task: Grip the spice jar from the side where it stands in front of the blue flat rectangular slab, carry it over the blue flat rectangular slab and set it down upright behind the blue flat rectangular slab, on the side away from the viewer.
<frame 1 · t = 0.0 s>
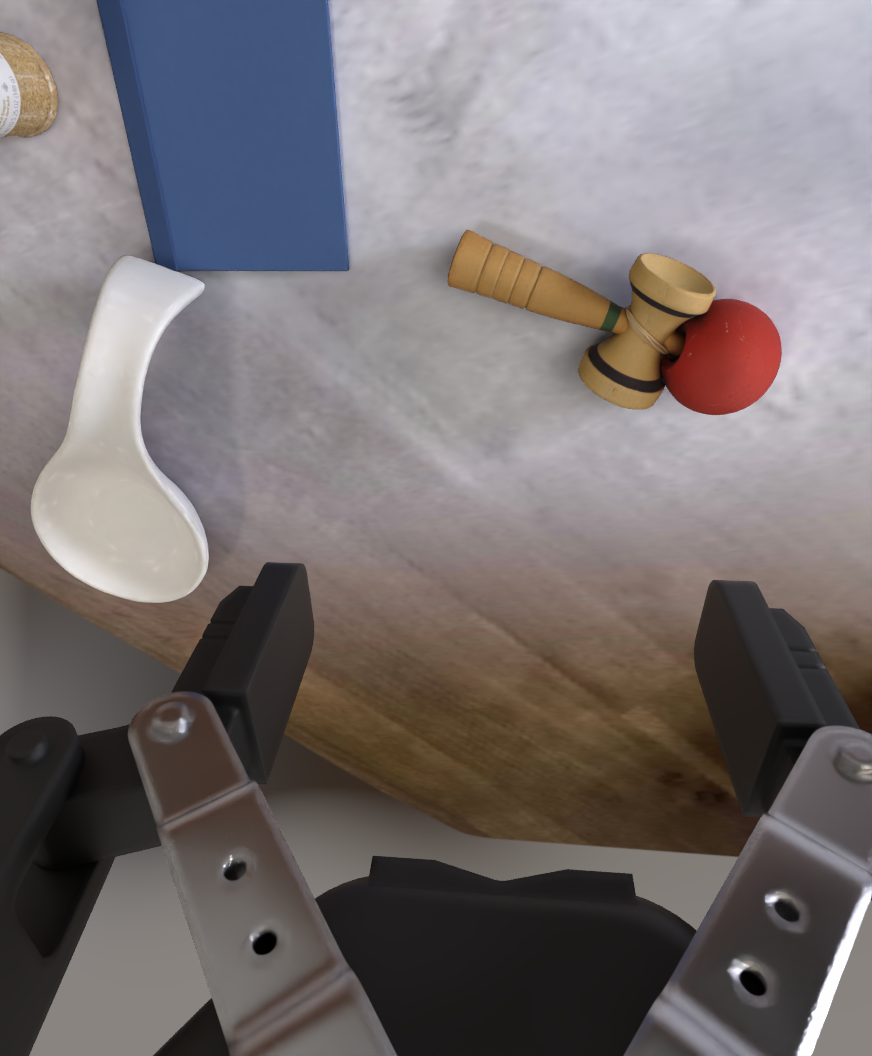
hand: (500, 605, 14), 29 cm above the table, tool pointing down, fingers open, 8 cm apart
kendama: (605, 306, 39), on the table
blue flat rectangular slab: (214, 6, 33), on the table
spice jar: (19, 85, 36), on the table
spoon rest: (151, 437, 46), on the table, touching blue flat rectangular slab
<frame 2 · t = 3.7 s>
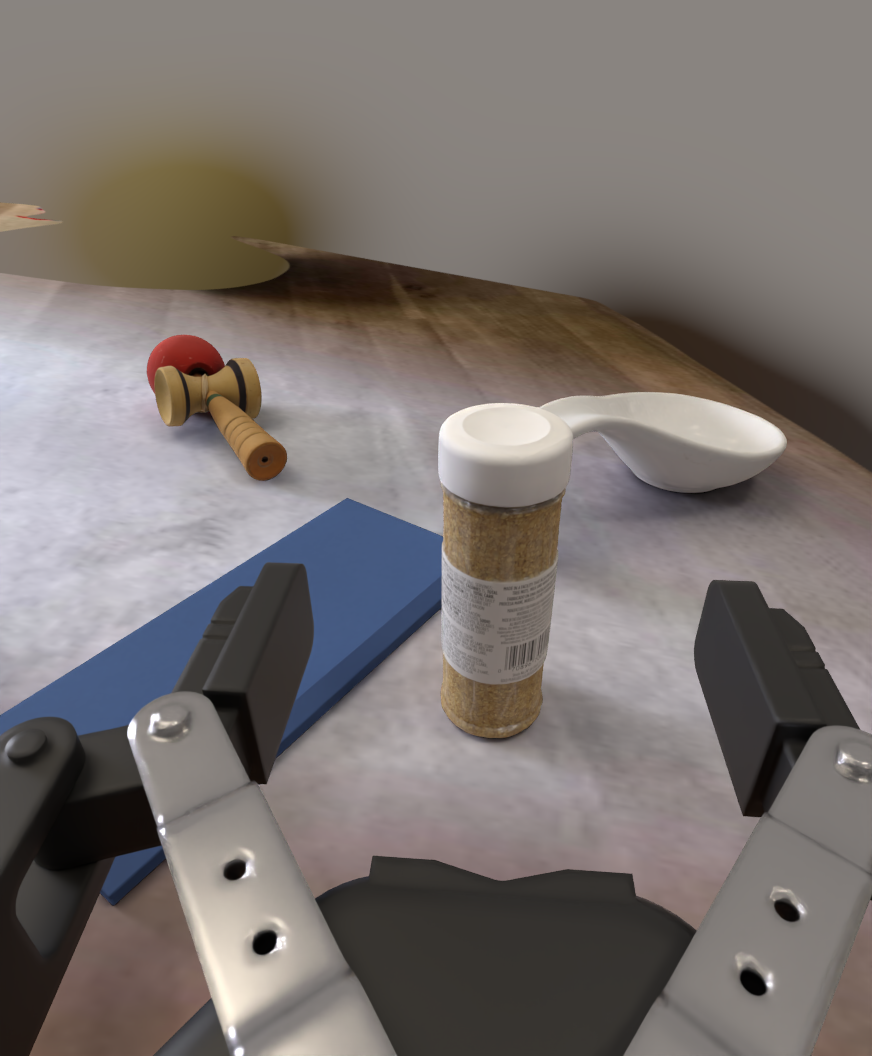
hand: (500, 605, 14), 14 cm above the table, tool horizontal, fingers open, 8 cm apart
kendama: (224, 436, 53), on the table
blue flat rectangular slab: (267, 640, 34), on the table
spice jar: (489, 705, 31), on the table
spoon rest: (621, 498, 45), on the table, touching blue flat rectangular slab
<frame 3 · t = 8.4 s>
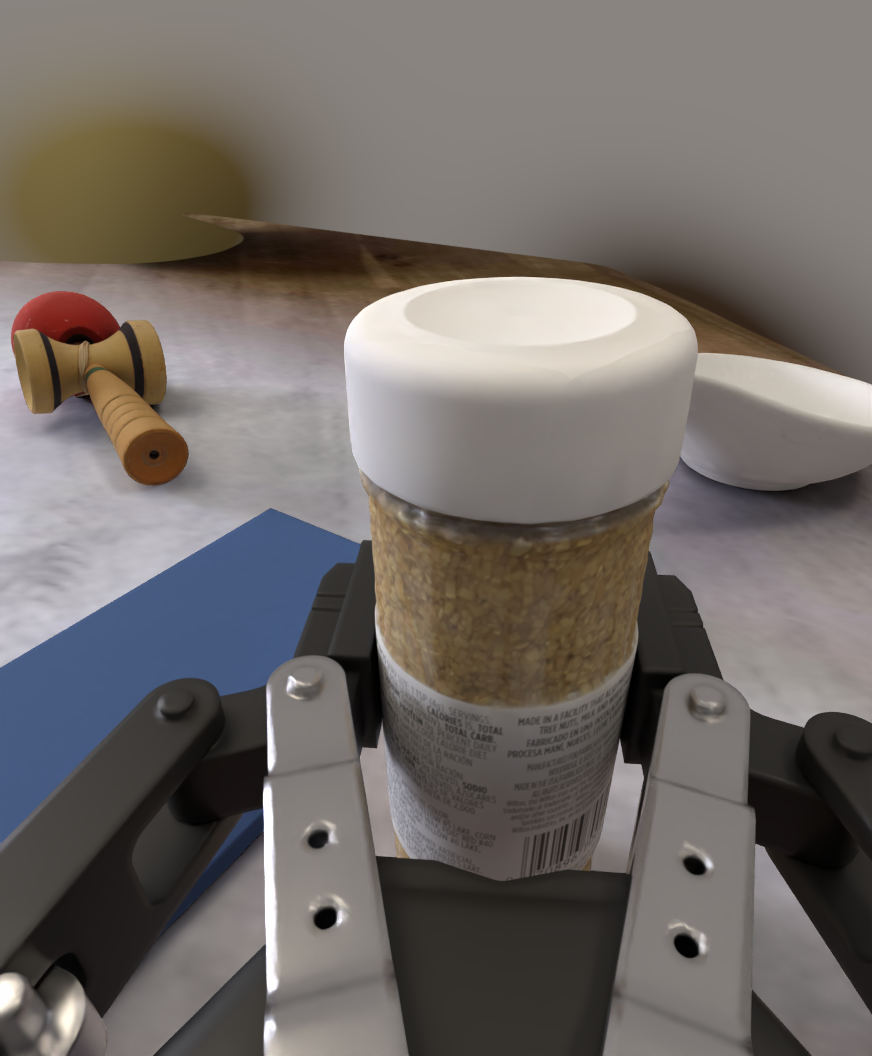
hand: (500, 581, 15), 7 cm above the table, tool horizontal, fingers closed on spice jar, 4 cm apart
kendama: (115, 427, 39), on the table
blue flat rectangular slab: (97, 760, 19), on the table
spice jar: (489, 895, 16), on the table, touching gripper
spoon rest: (674, 500, 31), on the table, touching blue flat rectangular slab
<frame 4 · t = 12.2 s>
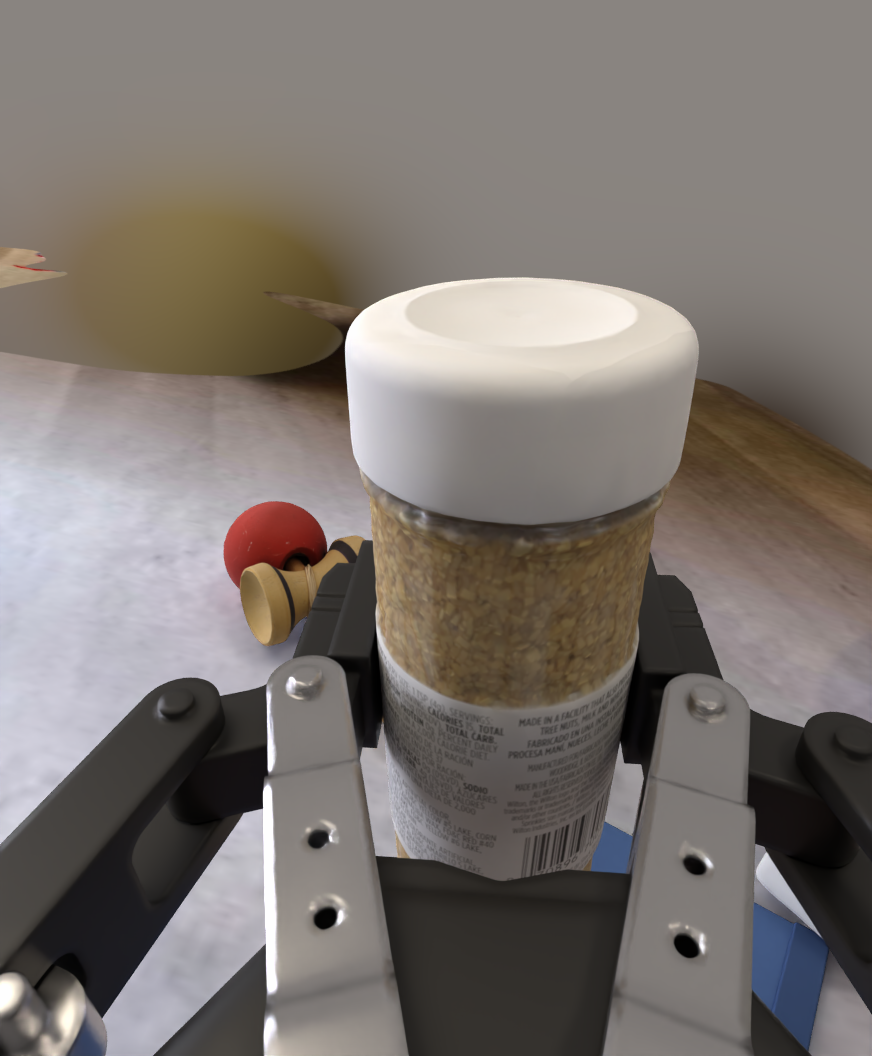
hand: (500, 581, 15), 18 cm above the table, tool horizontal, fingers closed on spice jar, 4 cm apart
kendama: (334, 647, 39), on the table
spice jar: (489, 895, 16), point 11 cm above the table, touching gripper
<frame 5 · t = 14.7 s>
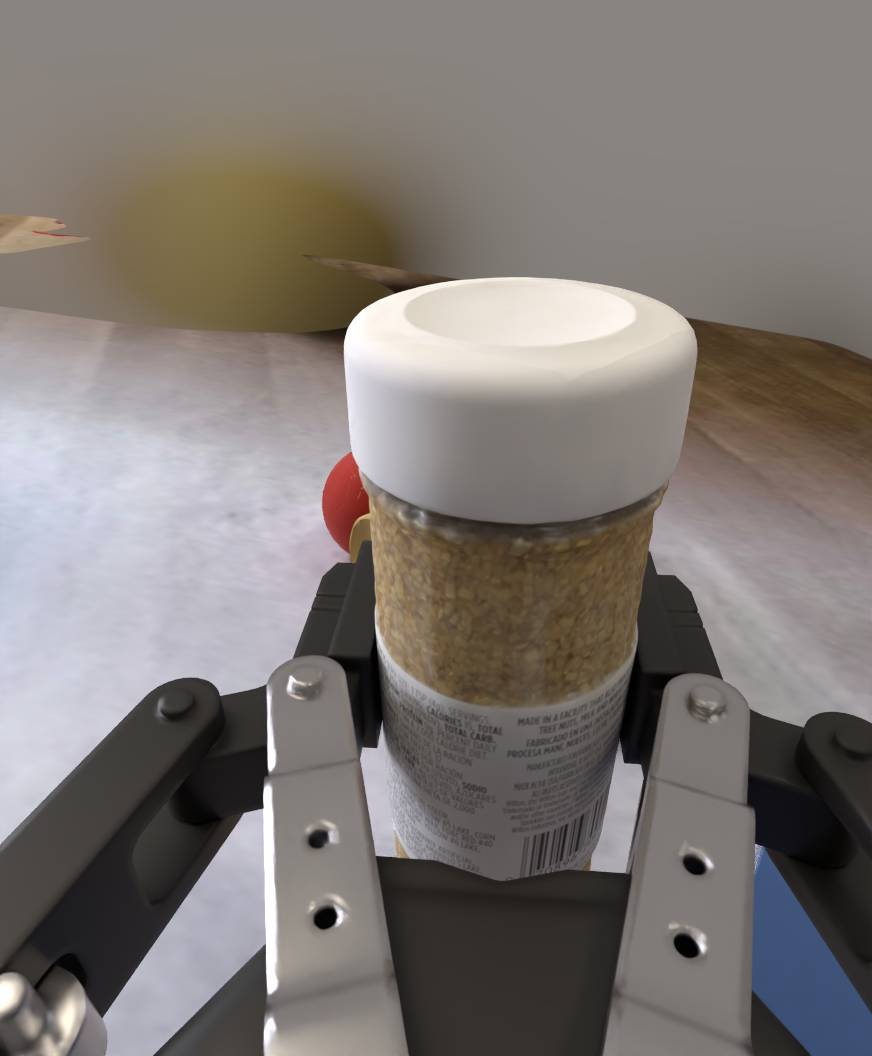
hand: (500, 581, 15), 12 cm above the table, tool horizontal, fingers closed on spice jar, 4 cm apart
kendama: (459, 615, 32), on the table
spice jar: (488, 895, 16), point 5 cm above the table, touching gripper
when the fingers open (7 cm above the table, at t = 16.5 s): spice jar stays where it is, on the table.
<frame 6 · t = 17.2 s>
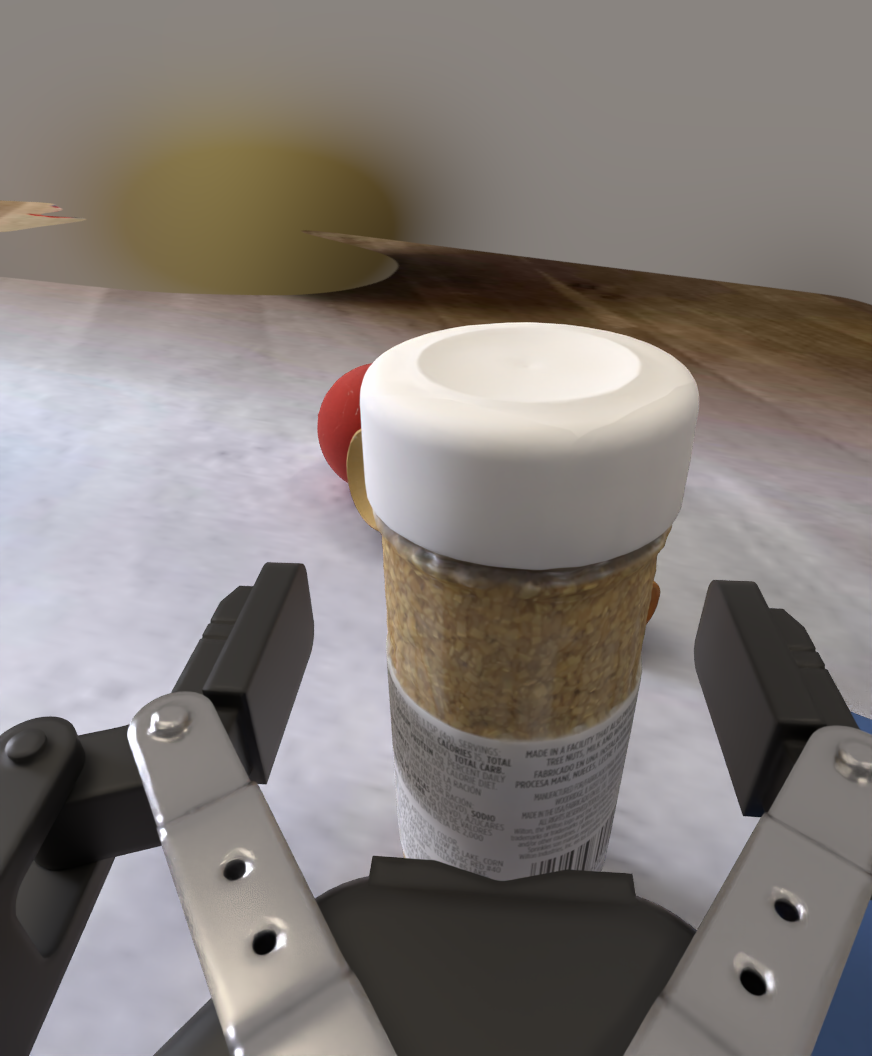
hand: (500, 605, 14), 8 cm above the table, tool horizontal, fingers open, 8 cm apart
kendama: (466, 542, 30), on the table
spice jar: (495, 915, 17), on the table
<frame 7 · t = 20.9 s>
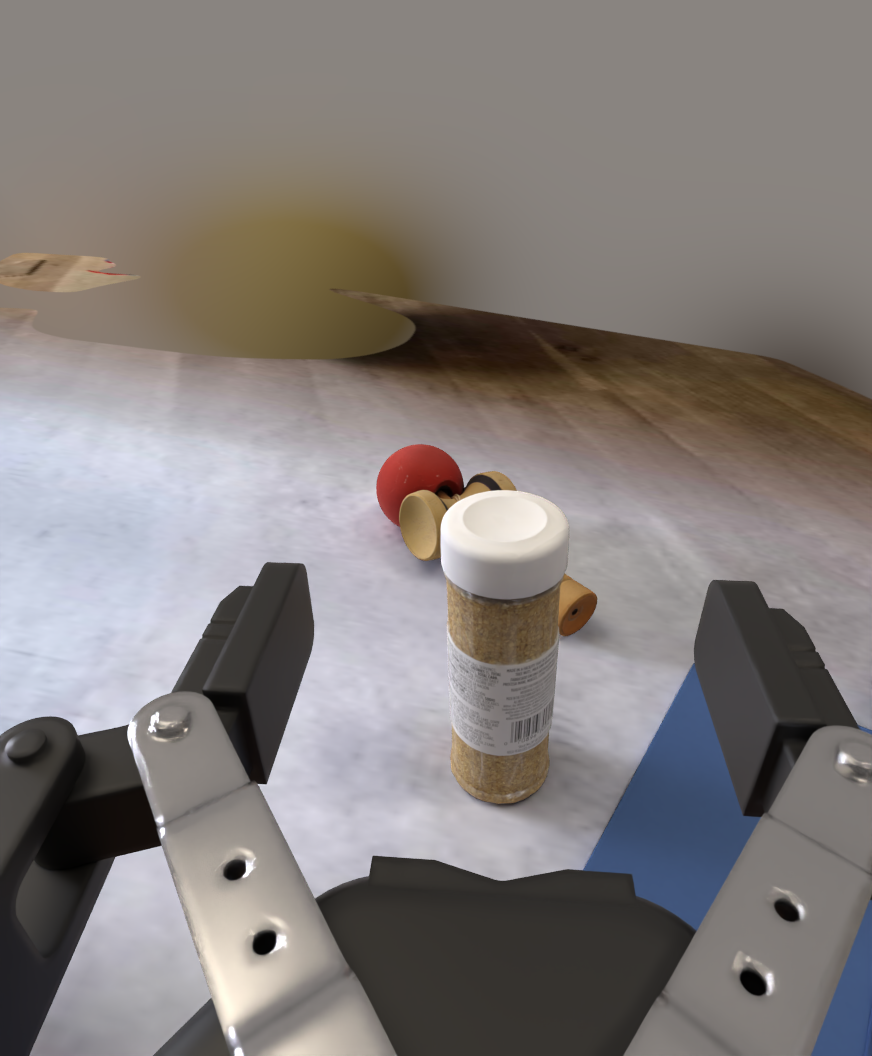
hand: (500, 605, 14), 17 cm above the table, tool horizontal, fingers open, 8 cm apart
kendama: (478, 566, 45), on the table
blue flat rectangular slab: (739, 918, 26), on the table
spice jar: (498, 768, 32), on the table
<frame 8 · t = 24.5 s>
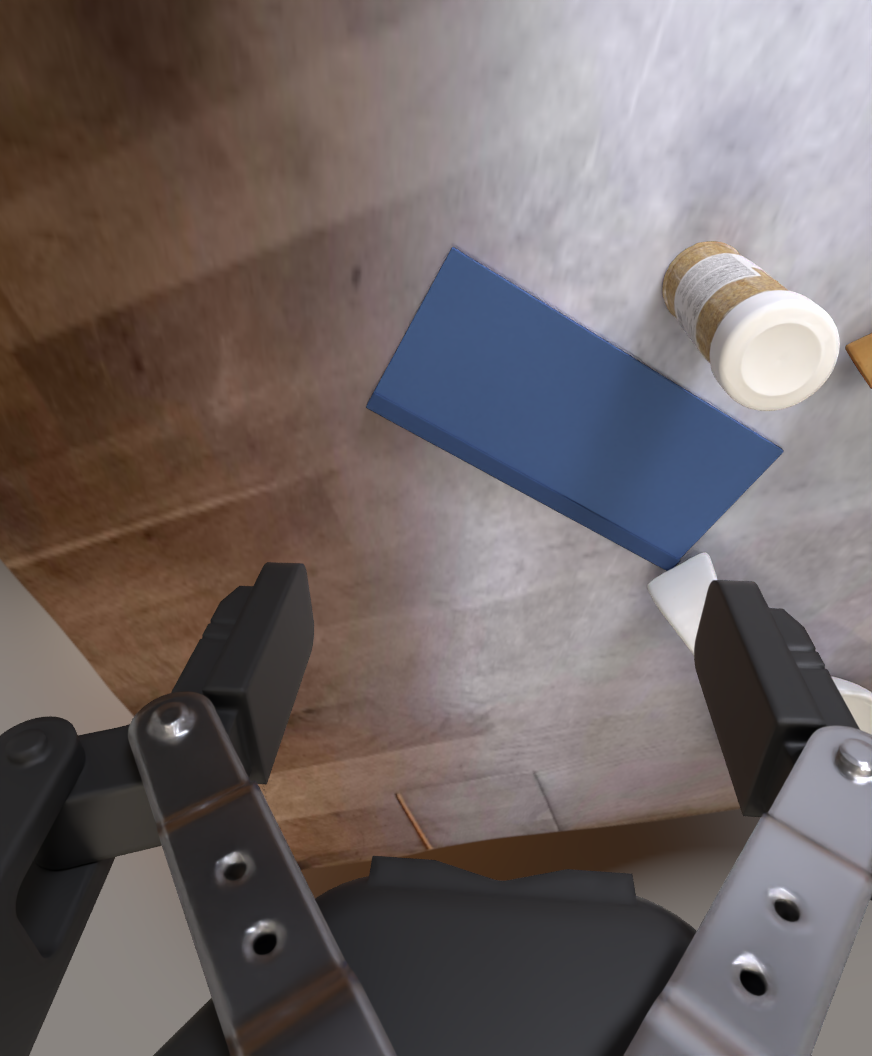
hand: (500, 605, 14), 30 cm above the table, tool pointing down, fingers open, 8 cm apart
blue flat rectangular slab: (572, 426, 44), on the table
spice jar: (701, 281, 39), on the table
spoon rest: (752, 657, 53), on the table, touching blue flat rectangular slab
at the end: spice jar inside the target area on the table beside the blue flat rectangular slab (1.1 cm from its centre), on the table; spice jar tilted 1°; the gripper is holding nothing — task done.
